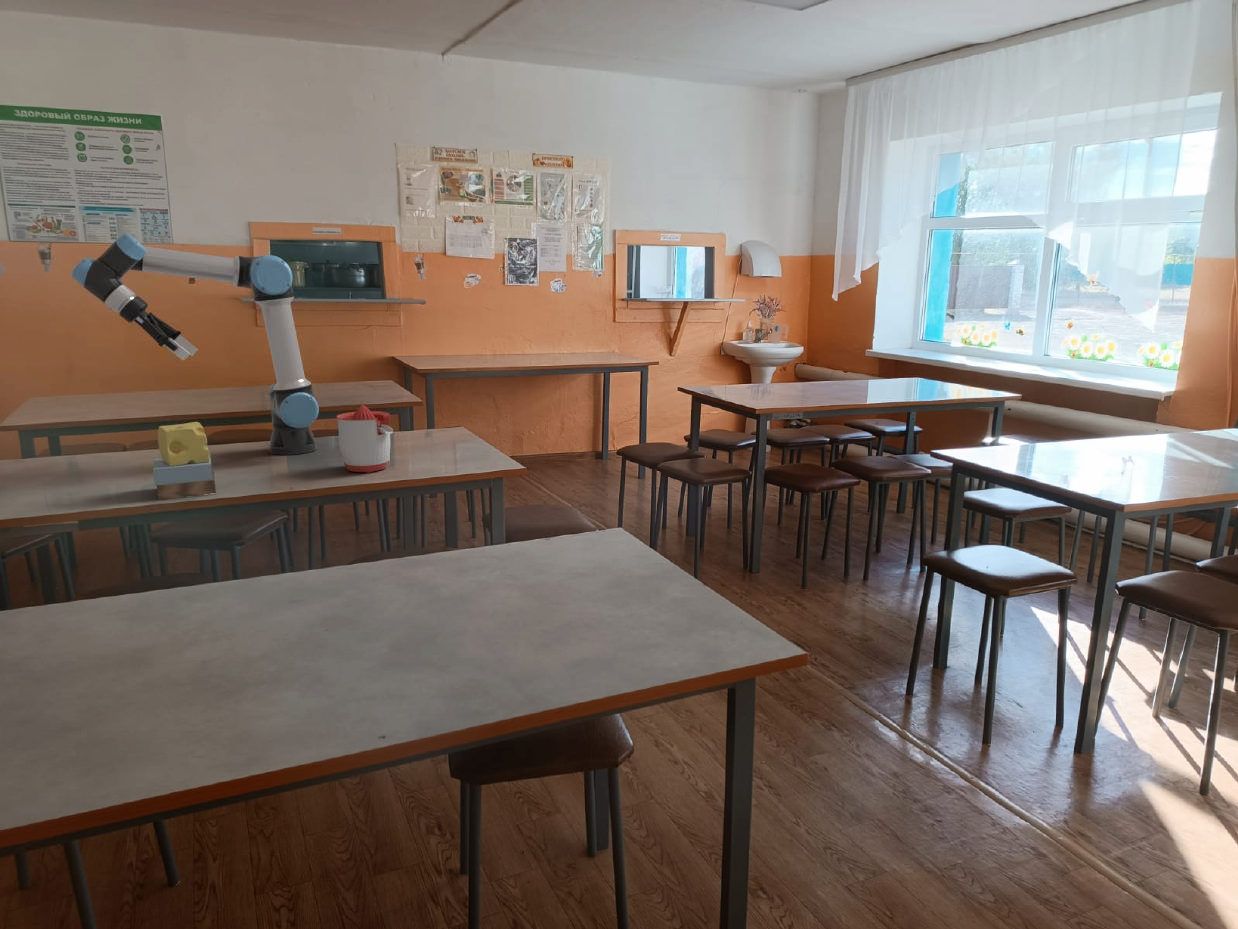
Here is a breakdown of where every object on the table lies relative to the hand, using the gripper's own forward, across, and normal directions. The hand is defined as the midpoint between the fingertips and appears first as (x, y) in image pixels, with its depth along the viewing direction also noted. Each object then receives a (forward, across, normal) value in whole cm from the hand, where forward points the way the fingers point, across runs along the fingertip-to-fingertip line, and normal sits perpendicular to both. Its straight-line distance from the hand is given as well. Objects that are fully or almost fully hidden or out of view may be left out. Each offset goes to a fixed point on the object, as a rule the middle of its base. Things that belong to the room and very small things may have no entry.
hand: (191, 355), depth 251 cm
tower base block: (+25, +25, -26) cm, 44 cm away
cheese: (+19, +25, -19) cm, 37 cm away
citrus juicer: (+60, +12, +9) cm, 61 cm away
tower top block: (+22, +25, -23) cm, 40 cm away
